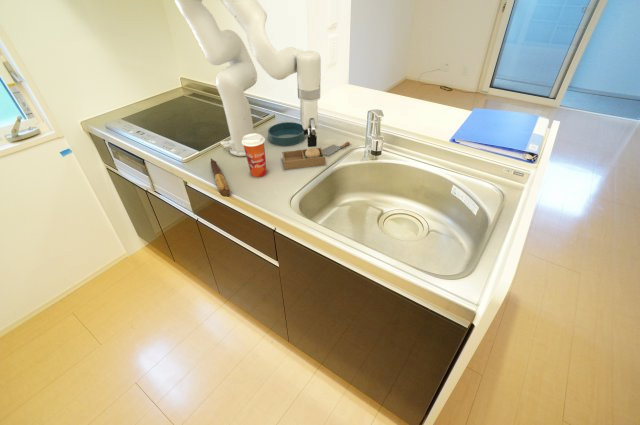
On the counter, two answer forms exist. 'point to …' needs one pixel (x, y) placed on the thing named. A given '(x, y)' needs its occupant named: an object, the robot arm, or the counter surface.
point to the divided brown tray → (301, 159)
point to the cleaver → (333, 149)
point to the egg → (312, 153)
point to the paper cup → (255, 154)
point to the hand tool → (220, 180)
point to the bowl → (286, 133)
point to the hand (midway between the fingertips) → (309, 140)
